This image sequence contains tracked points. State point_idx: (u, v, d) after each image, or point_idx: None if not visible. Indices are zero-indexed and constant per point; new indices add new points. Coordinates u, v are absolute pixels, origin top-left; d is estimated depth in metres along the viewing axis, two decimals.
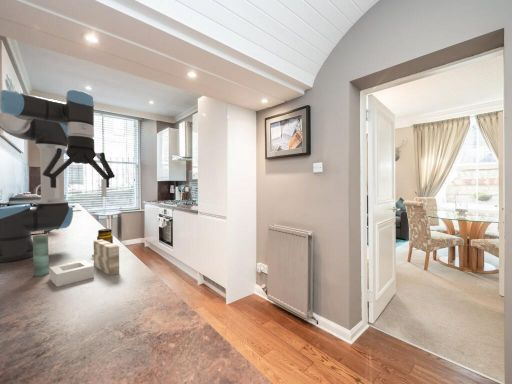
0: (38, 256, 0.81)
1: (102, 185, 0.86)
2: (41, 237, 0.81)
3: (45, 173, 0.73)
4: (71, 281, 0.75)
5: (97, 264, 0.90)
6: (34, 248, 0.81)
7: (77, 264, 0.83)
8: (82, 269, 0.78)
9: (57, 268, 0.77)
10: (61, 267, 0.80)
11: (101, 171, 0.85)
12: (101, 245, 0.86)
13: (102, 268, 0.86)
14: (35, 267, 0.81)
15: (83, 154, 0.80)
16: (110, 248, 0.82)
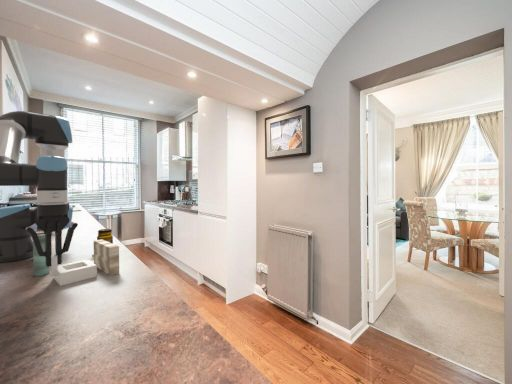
0: (38, 256, 0.81)
1: None
2: (41, 237, 0.81)
3: (40, 254, 0.72)
4: (74, 281, 0.76)
5: (97, 264, 0.90)
6: (34, 248, 0.81)
7: (80, 263, 0.84)
8: (85, 268, 0.78)
9: (60, 267, 0.78)
10: (64, 266, 0.80)
11: (58, 244, 0.76)
12: (101, 245, 0.86)
13: (102, 268, 0.86)
14: (35, 267, 0.81)
15: (55, 222, 0.75)
16: (110, 248, 0.82)
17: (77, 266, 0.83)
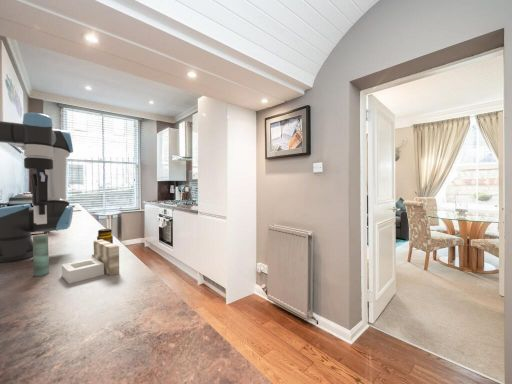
0: (38, 256, 0.81)
1: None
2: (41, 237, 0.81)
3: (32, 201, 0.85)
4: (82, 279, 0.78)
5: None
6: (34, 248, 0.81)
7: (87, 262, 0.85)
8: (93, 267, 0.80)
9: (69, 265, 0.80)
10: (72, 265, 0.82)
11: (36, 195, 0.80)
12: (101, 245, 0.86)
13: None
14: (35, 267, 0.81)
15: None
16: (110, 248, 0.82)
17: (84, 264, 0.85)
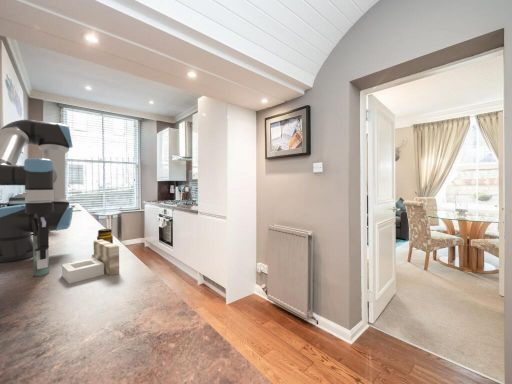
0: None
1: None
2: None
3: None
4: (82, 279, 0.78)
5: None
6: (34, 248, 0.81)
7: (87, 262, 0.85)
8: (93, 267, 0.80)
9: (69, 266, 0.80)
10: (72, 265, 0.82)
11: (37, 240, 0.80)
12: (101, 245, 0.86)
13: None
14: (35, 267, 0.81)
15: None
16: (110, 248, 0.82)
17: (84, 264, 0.85)
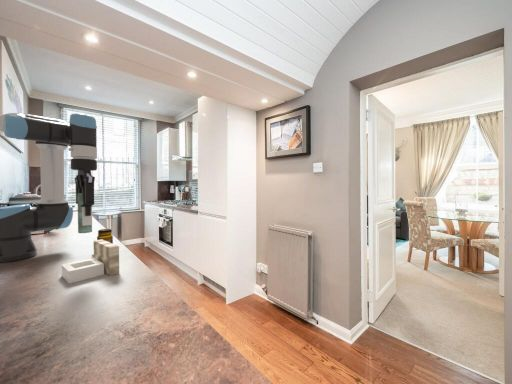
0: None
1: None
2: None
3: (76, 202, 0.84)
4: (82, 279, 0.78)
5: None
6: (78, 204, 0.80)
7: (87, 262, 0.85)
8: (93, 267, 0.80)
9: (69, 265, 0.80)
10: (72, 265, 0.82)
11: (82, 196, 0.79)
12: (101, 245, 0.86)
13: None
14: (80, 224, 0.80)
15: None
16: (110, 248, 0.82)
17: (84, 264, 0.85)
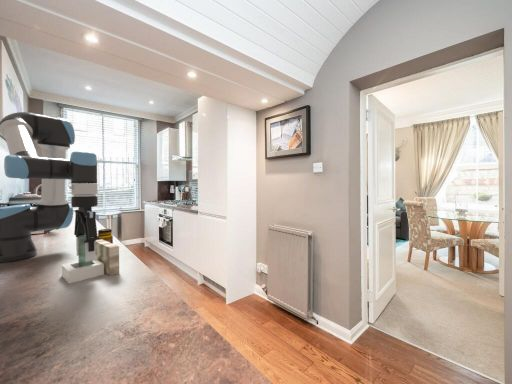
0: (84, 256, 0.81)
1: None
2: None
3: (74, 233, 0.86)
4: (82, 279, 0.78)
5: None
6: (79, 248, 0.80)
7: None
8: (93, 267, 0.80)
9: (69, 266, 0.80)
10: (72, 265, 0.82)
11: (85, 232, 0.78)
12: (101, 245, 0.86)
13: None
14: None
15: None
16: (110, 248, 0.82)
17: None
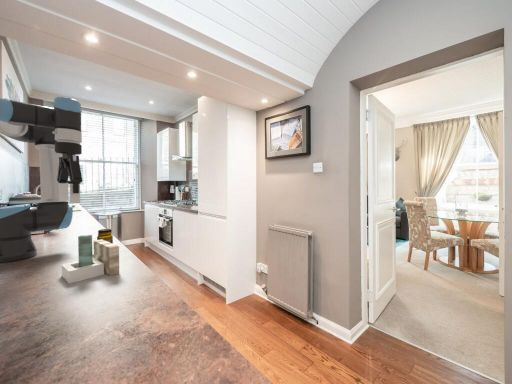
0: (84, 256, 0.81)
1: None
2: (86, 237, 0.81)
3: (57, 179, 0.88)
4: (82, 279, 0.78)
5: None
6: (79, 248, 0.80)
7: None
8: (93, 267, 0.80)
9: (69, 265, 0.80)
10: (72, 265, 0.82)
11: (69, 175, 0.78)
12: (101, 245, 0.86)
13: None
14: None
15: None
16: (110, 248, 0.82)
17: None
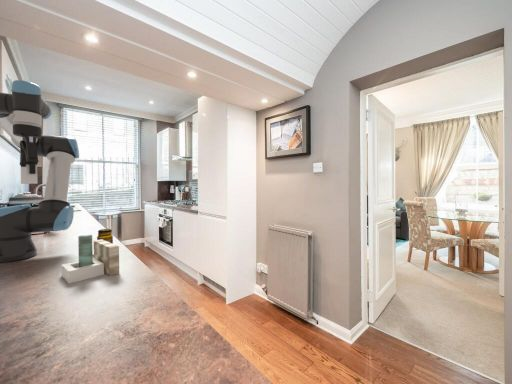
0: (84, 256, 0.81)
1: None
2: (86, 237, 0.81)
3: None
4: (82, 279, 0.78)
5: None
6: (79, 248, 0.80)
7: None
8: (93, 267, 0.80)
9: (69, 265, 0.80)
10: (72, 265, 0.82)
11: (26, 156, 0.80)
12: (101, 245, 0.86)
13: None
14: None
15: None
16: (110, 248, 0.82)
17: None
